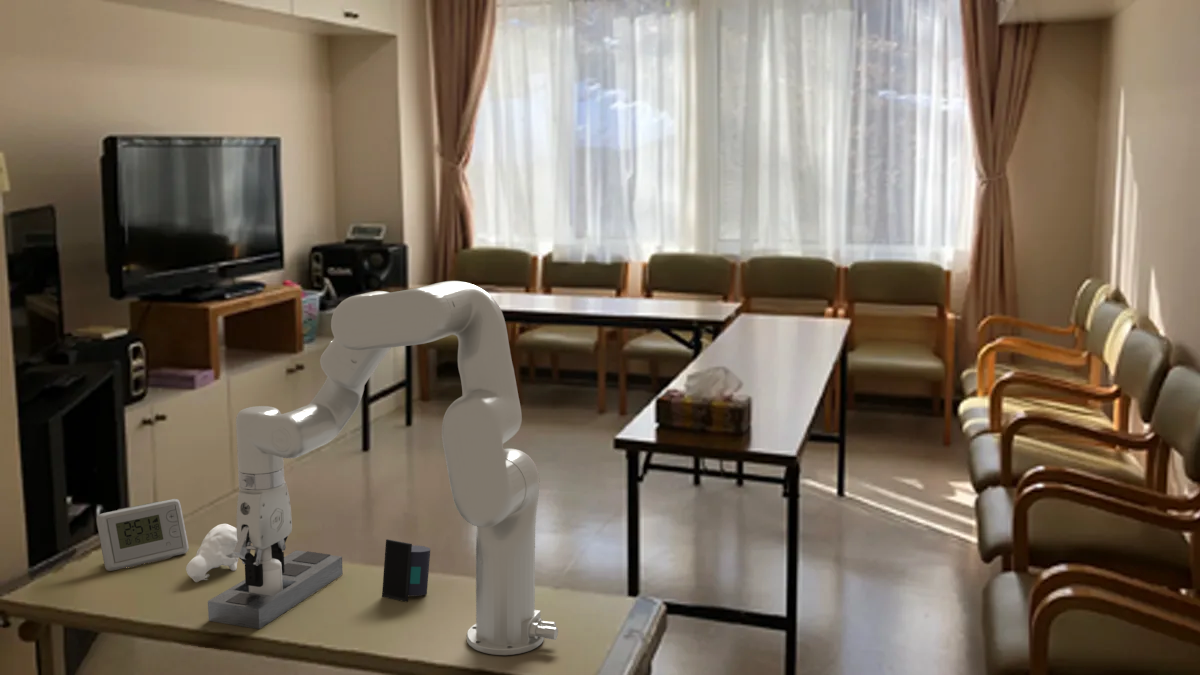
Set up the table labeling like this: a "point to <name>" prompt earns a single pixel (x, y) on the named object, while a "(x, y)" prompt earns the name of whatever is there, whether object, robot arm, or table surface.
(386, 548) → the speaker
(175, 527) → the digital clock
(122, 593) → the table surface
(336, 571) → the rail
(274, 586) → the eye dropper bottle
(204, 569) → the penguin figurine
